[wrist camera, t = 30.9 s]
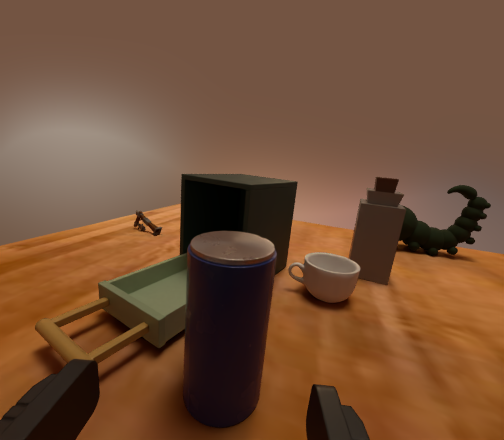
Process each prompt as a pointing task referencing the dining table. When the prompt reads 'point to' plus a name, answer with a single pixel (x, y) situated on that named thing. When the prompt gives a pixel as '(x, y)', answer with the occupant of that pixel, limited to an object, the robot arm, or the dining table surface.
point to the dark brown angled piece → (147, 222)
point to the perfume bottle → (378, 231)
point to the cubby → (238, 208)
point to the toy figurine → (436, 239)
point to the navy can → (226, 324)
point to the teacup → (328, 276)
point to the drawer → (129, 310)
